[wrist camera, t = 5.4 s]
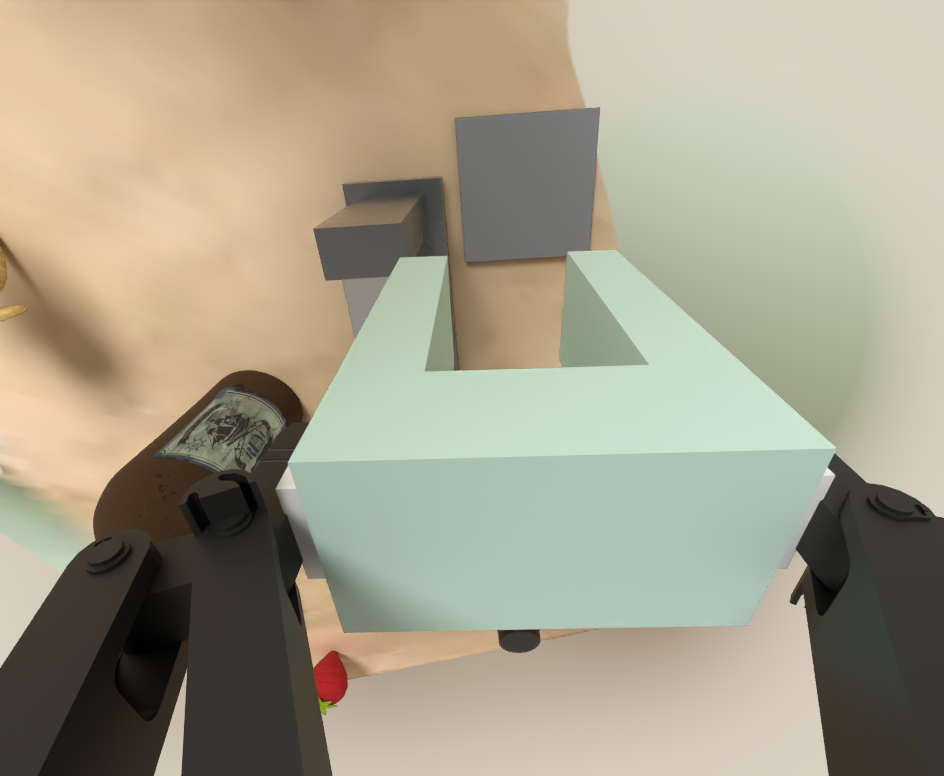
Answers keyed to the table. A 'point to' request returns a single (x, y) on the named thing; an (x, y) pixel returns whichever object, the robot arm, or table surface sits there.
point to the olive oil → (197, 454)
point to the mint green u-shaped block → (551, 468)
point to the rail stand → (382, 238)
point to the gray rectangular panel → (527, 183)
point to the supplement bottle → (519, 640)
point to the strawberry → (330, 681)
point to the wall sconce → (7, 311)
